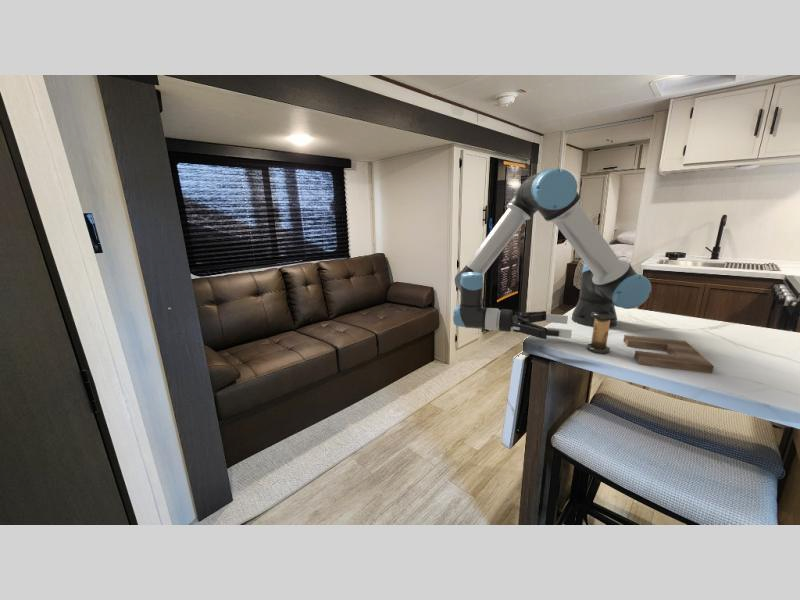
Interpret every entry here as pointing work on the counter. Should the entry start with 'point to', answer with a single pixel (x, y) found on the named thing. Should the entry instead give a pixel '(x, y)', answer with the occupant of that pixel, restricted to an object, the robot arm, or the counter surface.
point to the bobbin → (600, 332)
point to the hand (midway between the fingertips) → (569, 326)
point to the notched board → (677, 358)
